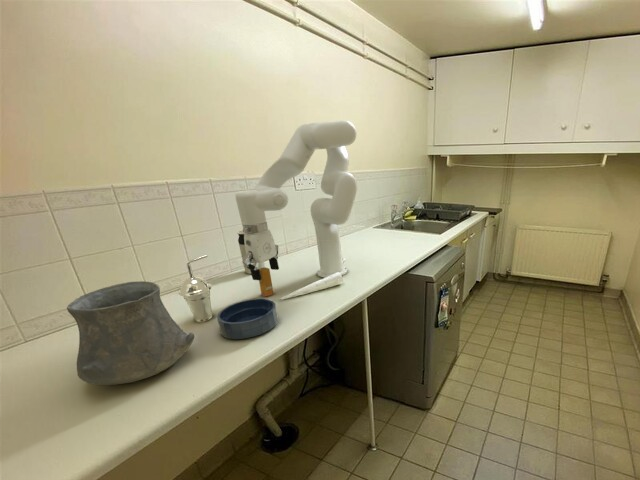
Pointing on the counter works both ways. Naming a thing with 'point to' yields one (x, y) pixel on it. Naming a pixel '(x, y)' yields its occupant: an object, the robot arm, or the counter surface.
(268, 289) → the supplement box
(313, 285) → the unicorn horn
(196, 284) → the cup with straw
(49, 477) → the counter surface
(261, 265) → the travel mug
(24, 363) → the counter surface
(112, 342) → the vessel
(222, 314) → the bowl
